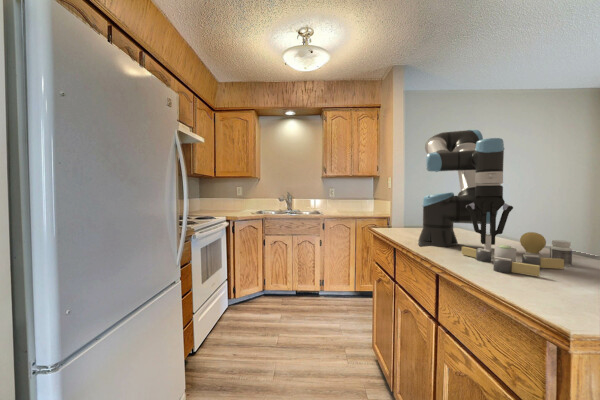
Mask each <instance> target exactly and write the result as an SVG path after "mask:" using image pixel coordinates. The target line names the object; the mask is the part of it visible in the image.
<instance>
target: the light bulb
mask: <svg viewBox="0 0 600 400" xmlns="http://www.w3.org/2000/svg"><path fill="white" fill-rule="evenodd" d="M519 243H520V245H521V246H522V248H523V249H524V255H538V256H539V257H540V258H541V253H540V252H541V251H543V249H544V248H545V247H546V245H547V240H546V238H545V237H544V235H542V234H541V233H538V232H533V231H529V232H525V233H523V234H522V235H521V236H520V238H519Z"/></svg>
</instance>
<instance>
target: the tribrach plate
mask: <svg viewBox="0 0 600 400" xmlns="http://www.w3.org/2000/svg"><path fill="white" fill-rule="evenodd" d="M494 257H499V258H506V259H511V260H512V262H517V248H515V247H512V246H510V245H502V244H500V245H497V246H496V245H495V246H494Z"/></svg>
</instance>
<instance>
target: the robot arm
mask: <svg viewBox="0 0 600 400" xmlns="http://www.w3.org/2000/svg"><path fill="white" fill-rule="evenodd" d="M504 143H505V142H504V139H502V138H501V137H489V138H483V134H482V132H481V131H480V130H479V129H467V130H457V131H456V130H455V131H445V132H440V133H437V134H434V135H432V137H430V138H428V140H427V141H426V142H425V147H424V149H425V152H426V161H425V162H426V165H425V166H426V170H427V172H435V173H437V172H450V171H451V172H455V171H457V173H458V174H457V175H458V181H459V187H460V190H459V192H457V193H458V194H457V195H455V193H454V192H452V191H451V192H443V193H442V192H441V193H433V194H427V195H425V196H424V197H423V199H422V200H423V201H422V229H421V233H420V234H419V238H418V241H417V242H418V244H417V245H418V246H419V247H422V248H424V247H437V248H454V247H458V246H459V242H458V240H457V236H456V234H455V231H454V224H472V226H473V230H474V232H475V233H477V234H479V235H480V244H481V245H484V246H483V247H484V248H483V249H486V250H490V251H492V245H493V246H496V245H495V244H496V236H498V235H502V234H503V233H504V229H505V226H506V224H507V220H508V217H509V214H510V212H512V211H513V209H514V206H512V205H509V204H508V203H505V202H506V201H505V199H504V186H503V185H502V184H503V183H504V156H505V155H504V153H505V152H504V151H505V146H504V145H505V144H504ZM501 208H502V210H503V211H502V212H501V216H500V218H499V223H498V225H497V224H496V223H497V215H498V212H499V210H500V209H501ZM479 225H480V228H479ZM487 225H489V234H488V233H487Z"/></svg>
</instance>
